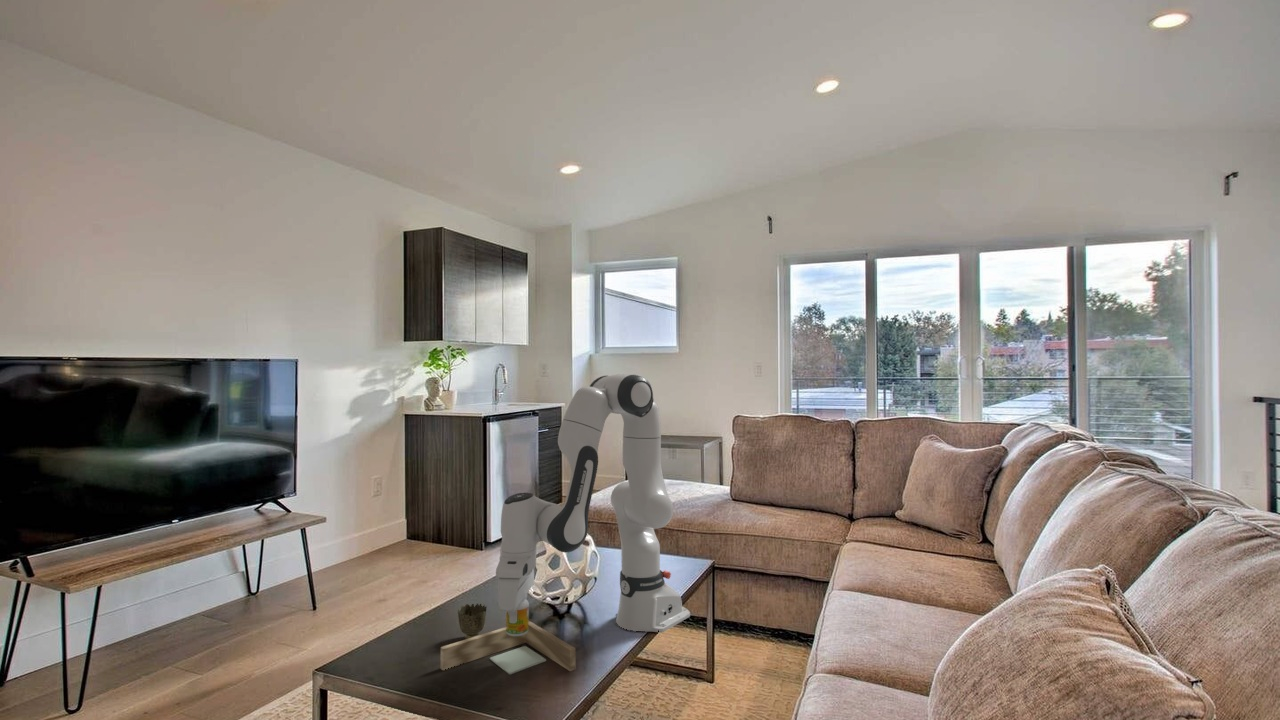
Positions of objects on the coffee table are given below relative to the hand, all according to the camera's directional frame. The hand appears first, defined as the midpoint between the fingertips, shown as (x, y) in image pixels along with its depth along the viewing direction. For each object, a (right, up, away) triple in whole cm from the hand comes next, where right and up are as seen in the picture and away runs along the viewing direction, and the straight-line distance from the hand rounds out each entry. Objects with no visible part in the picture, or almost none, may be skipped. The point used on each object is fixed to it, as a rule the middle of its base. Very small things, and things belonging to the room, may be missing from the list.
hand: (517, 616), depth 145 cm
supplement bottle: (0, -4, 0) cm, 4 cm away
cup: (-15, -11, +12) cm, 22 cm away
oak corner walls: (-1, -11, -5) cm, 12 cm away
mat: (0, -11, 0) cm, 11 cm away
